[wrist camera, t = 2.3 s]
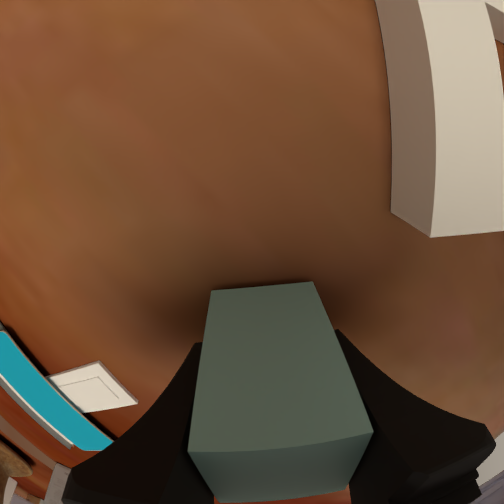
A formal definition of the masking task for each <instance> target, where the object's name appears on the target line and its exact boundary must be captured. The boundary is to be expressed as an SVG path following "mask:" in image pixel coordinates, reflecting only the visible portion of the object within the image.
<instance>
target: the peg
mask: <svg viewBox="0 0 504 504" xmlns="http://www.w3.org/2000/svg"><path fill="white" fill-rule="evenodd" d="M373 432H374V431H373V429H372V426H371V423H370V420H369V418H368V415H367V412H366V410H365V407H364V405H363V402H362V399H361V397H360V394H359V392H358V389H357V386H356V384H355V381H354V379H353V376H352V374H351V371H350V369H349V366H348V364H347V361H346V359H345V356H344V354H343V351H342V349H341V347H340V344H339V342H338V339H337V337H336V334H335V332H334V330H333V327H332V325H331V323H330V320H329V318H328V316H327V313H326V311H325V309H324V306H323V304H322V302H321V299H320V297H319V295H318V292H317V290H316V288H315V286H314V283H313V281H312V282H302V283H292V284H282V285H272V286H261V287H249V288H237V289H225V290H212V291H211V296H210V302H209V308H208V314H207V320H206V326H205V332H204V338H203V345H202V351H201V357H200V364H199V371H198V377H197V384H196V391H195V398H194V406H193V413H192V420H191V428H190V436H189V444H188V453H189V455H190V456H191V458H192V460H193V462H194V463H195V465H196V467H197V468H198V470H199V472H200V473H201V475H202V477H203V478H204V480H205V482H206V483H207V485H208V486H209V488H210V489H211V491H212V493H213V494H214V496H215V497H216V499H217V500H218V502H225V503H231V502H260V501H274V500H284V499H293V498H301V497H307V496H314V495H320V494H325V493H330V492H335V491H340V490H345V488H346V486H347V485H348V483H349V481H350V479H351V477H352V475H353V473H354V472H355V470H356V468H357V466H358V464H359V462H360V460H361V458H362V456H363V454H364V451H365V449H366V447H367V445H368V443H369V441H370V438H371V436H372V434H373Z"/></svg>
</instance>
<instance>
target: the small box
mask: <svg viewBox="0 0 504 504" xmlns="http://www.w3.org/2000/svg"><path fill="white" fill-rule="evenodd" d="M26 500H28V501H30V502H32V503H34V504H43V503H44V500H42V499H40V498H37V497H35V496H33V495H30V494H28V495H27V498H26Z"/></svg>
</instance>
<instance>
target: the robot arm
mask: <svg viewBox="0 0 504 504" xmlns="http://www.w3.org/2000/svg"><path fill="white" fill-rule="evenodd" d="M334 332H335V334H336V337H337V339H338V342H339V344H340V347H341V349H342V351H343V354H344V356H345V359H346V361H347V364H348V366H349V369H350V371H351V374H352V376H353V379H354V381H355V384H356V386H357V389H358V392H359V394H360V397H361V399H362V402H363V405H364V407H365V410H366V412H367V415H368V418H369V420H370V423H371V426H372V429H373V431H374V432H373V434H372V436H371V438H370V441H369V443H368V445H367V447H366V449H365V451H364V454H363V456H362V458H361V460H360V462H359V464H358V466H357V468H356V470H355V472H354V473H353V475H352V477H351V479H350V481H349V489H350V496H351V504H504V470H503V471H502V472H501V473H499V474H498V475H496V476H495V477H493V478H492V479H490V480H489V481H487V482H485V483H484V484H482V485H481V486H478V484H477V482H476V480H475V479H477V478H478V477H479V474H478V472H477V470H476V468H477V467H478V466H479V465H480V464H481V463H482V462H483V461H484V460H485V459H486V458H487V457H488V456H489V455H490V454H491V453H492V452H493V450H494V449H495V447H496V442H495V441H494V439H493V437H492V435H491V434H490V432H489V430H488V429H487V427H486V426H485V424H482V423H479V422H475V421H472V420H469V419H465V418H462V417H459V416H457V415H454V414H452V413H449V412H447V411H444V410H442V409H440V408H438V407H436V406H434V405H432V404H430V403H428V402H426V401H424V400H422V399H421V398H419V397H417V396H415V395H414V394H412V393H411V392H409V391H408V390H406V389H405V388H403V387H402V386H400V385H399V384H397V383H396V382H395V381H393V380H392V379H391V378H389V377H388V376H387V375H386V374H385V373H383V372H382V371H381V370H380V369H379V368H377V367H376V366H375V365H374V364H373V363H372V362H371V361H370V360H369V359H367V358H366V357H365V356H364V355H363V354H362V353H361V352H360V351H359V350H358V349H357V348H356V347H355V346H354V345H353V344H352V343H351V342H350V341H349V340H348V339H347V338H346V337H345V336H344V335H343V333H342V332H341V331H339V330H338V329H337V330H334ZM202 345H203V342H198V343H195V344H194V345H193V347H192V348H191V350H190V352H189V354H188V355H187V357H186V359H185V360H184V362H183V364H182V365H181V367H180V368H179V370H178V371H177V373H176V374H175V376H174V377H173V379H172V380H171V382H170V383H169V385H168V386H167V387H166V389H165V390H164V391H163V393H162V394H161V395H160V396H159V398H158V399H157V400H156V401H155V403H154V404H153V405H152V406H151V407H150V408H149V410H148V411H147V412H146V413H145V414H144V415H143V416H142V417H141V418H140V419H139V420H138V421H137V422H136V423H135V424H134V425H133V426H132V427H131V428H130V429H129V430H127V431H126V432H125V433H124V434H123V435H122V436H121V437H119V438H118V439H117V440H115V441H114V442H113V443H111V444H110V445H109V446H107V447H106V448H105V449H103V450H102V451H100V452H99V453H97V454H96V455H94V456H93V457H91V458H89V459H87V460H86V461H84V462H82V463H80V464H79V465H77V466H75V467H73V468H72V469H71V471H70V473H69V476H68V478H67V482H66V485H65V488H64V491H63V495H62V498H61V501H62V502H63V504H214V494H213V493H212V491H211V489H210V488H209V486H208V485H207V483H206V482H205V480H204V478H203V477H202V475H201V473H200V472H199V470H198V468H197V467H196V465H195V463H194V462H193V460H192V458H191V456H190V455H189V453H188V444H189V436H190V428H191V420H192V413H193V406H194V398H195V391H196V384H197V377H198V371H199V364H200V357H201V351H202ZM11 504H34V503H32V502H30V501H28V500H26V499H24V498H22V497H20V496H18V495H16V494H14V495H13V498H12V501H11Z"/></svg>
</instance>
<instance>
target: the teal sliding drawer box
mask: <svg viewBox="0 0 504 504" xmlns="http://www.w3.org/2000/svg"><path fill="white" fill-rule="evenodd" d="M0 385H1V386H2V388H3V389H4V390H5V391H6V392H7V393H8V394H9V395H10V396H11V397H12V398H13V399H14V400H15V401H16V402H17V403H18V404H19V405H20V406H21V407H22V408H23V409H24V410H25V411H26V412H27V413H28V414H29V415H30V416H31V417H32V418H33V419H34V420H35V421H36V422H37V423H39V424H40V425H41V426H42V427H43V428H44V429H45V430H47V431H48V432H49V433H50V434H51V435H52V436H54V437H55V438H56V439H57V440H58V441H60V442H61V443H62V444H63V445H65V446H66V447H67V448H69V449H71V446H72V444H75V445H76V446H77V447H79V448H80V449H82V450H85V451H102V450H103V449H105V448H106V447H107V446H109V445H110V444H111V443H113V442H114V440H113V439H111V438H110V437H109V436H107V435H106V434H105V433H104V432H103V431H101V430H100V429H99V428H98V427H97V426H95V424H93V423H92V422H91V421H90V420H88V419H87V418H86V417H85V416H84V415H83V414H82V413H86V412H93V411H100V410H106V409H112V408H118V407H123V406H129V405H134V404H138V400H137V399H136V398H135V397H134V396H133V395H132V394H131V393H130V392H129V391H128V390H127V389H126V388H125V387H124V386H123V385H122V384H121V383H120V382H119V381H118V380H117V379H116V378H115V377H114V376H113V374H112V373H111V372H110V371H109V370H108V369H107V368H106V367H105V366H104V365H103V363H102V362H101V361H100V360H99V361H96V362H93V363H89V364H86V365H83V366H80V367H77V368H73V369H70V370H67V371H63V372H60V373H56V374H53V375H50V376H46V377H44V376H43V374H42V373H41V372H40V371H39V370H38V369H37V368H36V367H35V365H34V364H33V363H32V362H31V361H30V360H29V358H28V357H27V356H26V355H25V354H24V352H23V351H22V350H21V349H20V347H19V346H18V345H17V343H16V342H15V341H14V340H13V338H12V337H11V336H10V334H9V333H8V332H7V330H6V329H5V327H4V326H3V325H2V323H1V322H0ZM73 447H74V446H73Z"/></svg>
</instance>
